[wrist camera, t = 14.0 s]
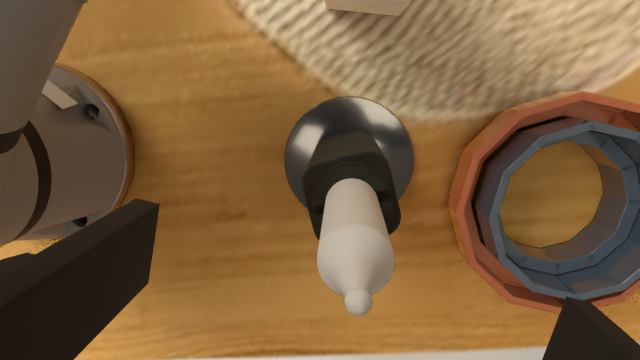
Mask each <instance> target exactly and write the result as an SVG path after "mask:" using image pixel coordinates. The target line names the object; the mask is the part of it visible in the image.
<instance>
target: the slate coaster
mask: <svg viewBox="0 0 640 360" xmlns="http://www.w3.org/2000/svg"><path fill="white" fill-rule="evenodd" d="M358 129H363V130H366V131H368V132H369V133H371V135H372V136H373V138H374V139H375V141H376V143H377V144H378V146H379V148H380V149H381V151H382V153H383V155H384V156H385V158H386V160H387V161H388V164H389V166H390V170H391V174H392V179H393V183H394V187H395V191H396V196H397V200H399V199H400V198H401V196H402V195H403V194H404V192H405V190H406V188H407V186H408V184H409V181H410V179H411V175H412V170H413V149H412V144H411V141H410V138H409V135H408V133H407V131H406V129H405V127H404V126H403V125H402V123H401V122H400V120H399V119H398V118H397V117H396V116H395V115H394V114H393V113H392V112H391V111H389V110H388V109H387V108H385V107H384V106H382V105H381V104H379V103H376V102H374V101H372V100H369V99H365V98H361V97H349V96H346V97H337V98H333V99H329V100H327V101H324V102H322V103H320V104H318V105H316V106H315V107H313V108H312V109H310V110H309V111H308V112H307V113H306V114H304V115H303V116H302V117H301V118H300V120H299V121H298V122H297V124H296V125H295V127H294V128H293V130H292V132H291V134H290V136H289V139H288V142H287V145H286V150H285V171H286V175H287V179H288V182H289V184H290V187H291V189H292V191H293V192H294V194H295V196H296V197H297V198H298V200H299V201H300V202H301V203H302V204H303V205H304V206H305V207H306V208H307V204H306V201H305V197H304V194H303V190H302V184H301V182H302V177H303V175H304V172H305V170H306V168H307V166H308V163H309V161H310V159H311V157H312V154H313V152H314V150H315V148H316V145H317V144H318V142H319V141H320V140H322V139H324V138H326V137H330V136H334V135H338V134H342V133H346V132H350V131H353V130H358ZM307 209H308V208H307Z"/></svg>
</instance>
